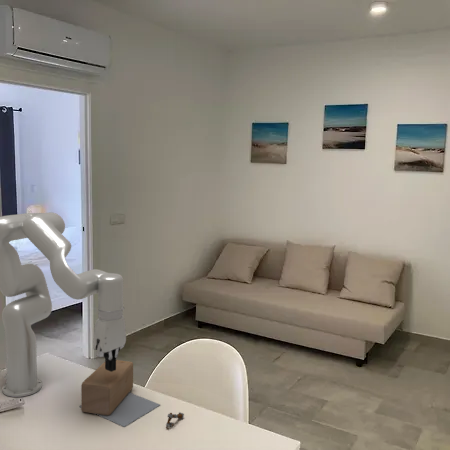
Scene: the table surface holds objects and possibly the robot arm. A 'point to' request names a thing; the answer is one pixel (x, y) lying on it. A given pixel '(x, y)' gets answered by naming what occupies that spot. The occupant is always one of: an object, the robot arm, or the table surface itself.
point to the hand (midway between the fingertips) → (110, 369)
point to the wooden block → (106, 388)
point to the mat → (130, 410)
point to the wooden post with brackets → (173, 417)
